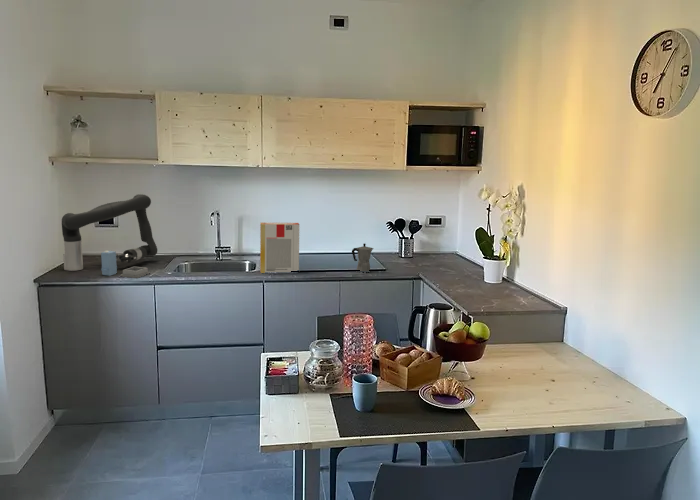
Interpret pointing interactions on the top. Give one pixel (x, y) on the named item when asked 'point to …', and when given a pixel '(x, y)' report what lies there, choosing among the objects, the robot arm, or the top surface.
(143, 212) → the robot arm
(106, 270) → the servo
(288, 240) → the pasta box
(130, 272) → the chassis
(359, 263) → the coffeepot
